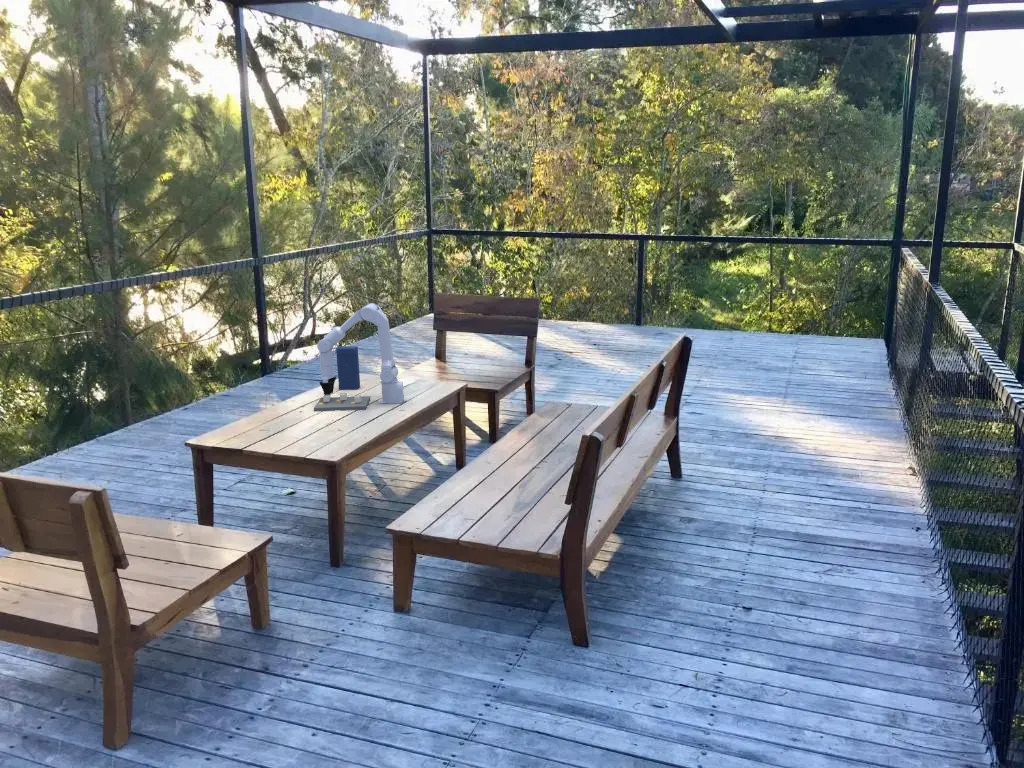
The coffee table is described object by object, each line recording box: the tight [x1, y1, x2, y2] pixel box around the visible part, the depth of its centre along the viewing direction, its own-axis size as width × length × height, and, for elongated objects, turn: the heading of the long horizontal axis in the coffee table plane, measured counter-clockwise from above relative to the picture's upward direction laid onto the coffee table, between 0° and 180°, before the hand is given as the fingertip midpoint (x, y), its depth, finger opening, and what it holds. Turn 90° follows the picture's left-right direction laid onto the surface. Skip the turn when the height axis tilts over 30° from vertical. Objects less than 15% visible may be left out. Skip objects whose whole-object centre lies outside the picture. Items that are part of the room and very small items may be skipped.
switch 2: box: [339, 392, 348, 400], centre depth 390 cm, size 2×3×3 cm
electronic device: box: [335, 345, 361, 390], centre depth 417 cm, size 10×5×20 cm, turn 84°
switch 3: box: [353, 394, 362, 403], centre depth 386 cm, size 2×3×3 cm
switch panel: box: [313, 395, 372, 412], centre depth 388 cm, size 22×18×2 cm
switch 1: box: [322, 394, 331, 402], centre depth 388 cm, size 2×3×3 cm
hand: (329, 395), depth 394 cm, fingers open, 7 cm apart
